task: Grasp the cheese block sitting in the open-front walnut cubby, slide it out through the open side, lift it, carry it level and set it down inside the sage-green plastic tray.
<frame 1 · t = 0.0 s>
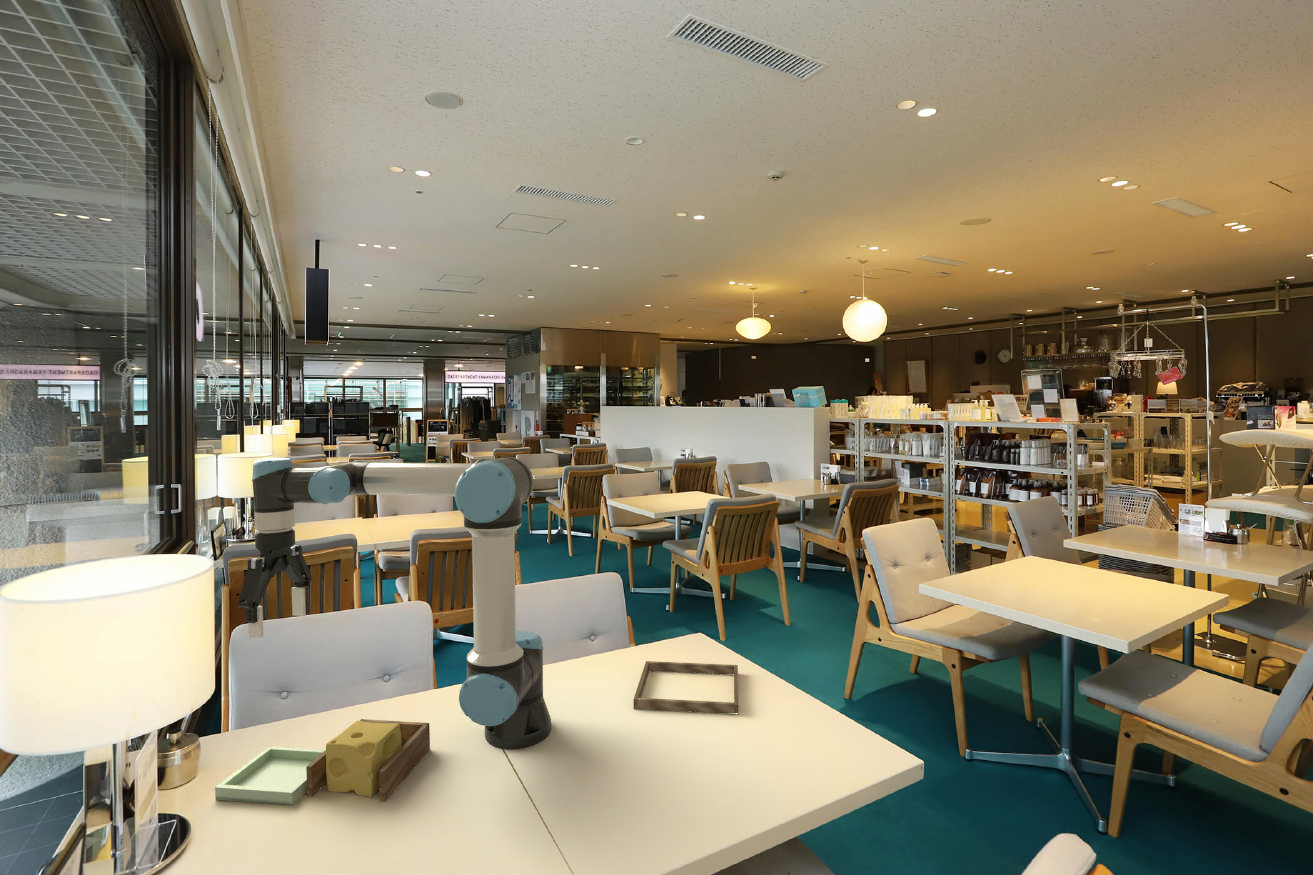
hand: (278, 625, 143), 28 cm above the table, fingers open, 13 cm apart
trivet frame: (688, 690, 174), on the table
cubby: (372, 771, 136), on the table
tray: (280, 779, 133), on the table
cheese: (364, 780, 133), on the table
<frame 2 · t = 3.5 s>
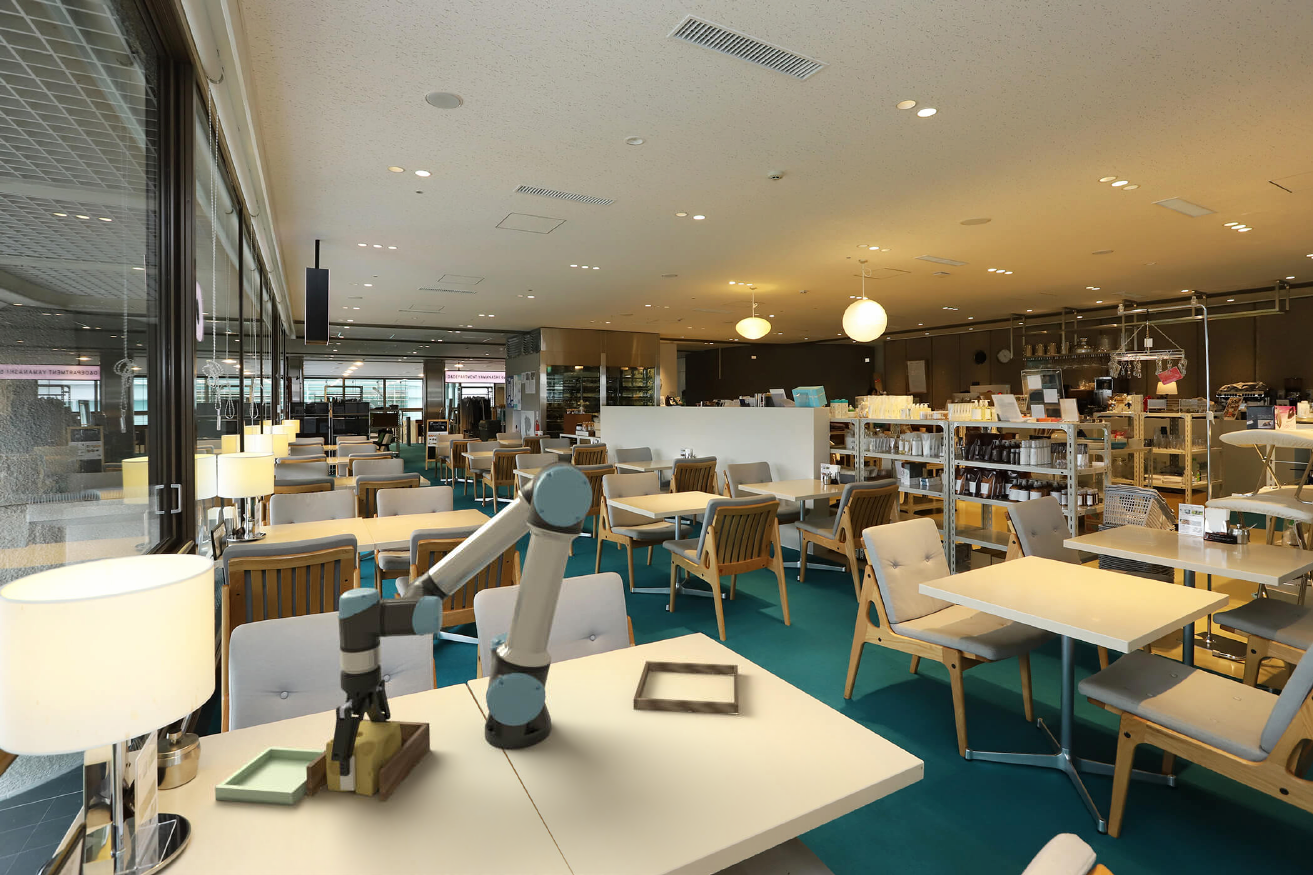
hand: (363, 772, 133), 1 cm above the table, fingers closed on cheese, 10 cm apart
cheese: (364, 780, 134), on the table, touching gripper
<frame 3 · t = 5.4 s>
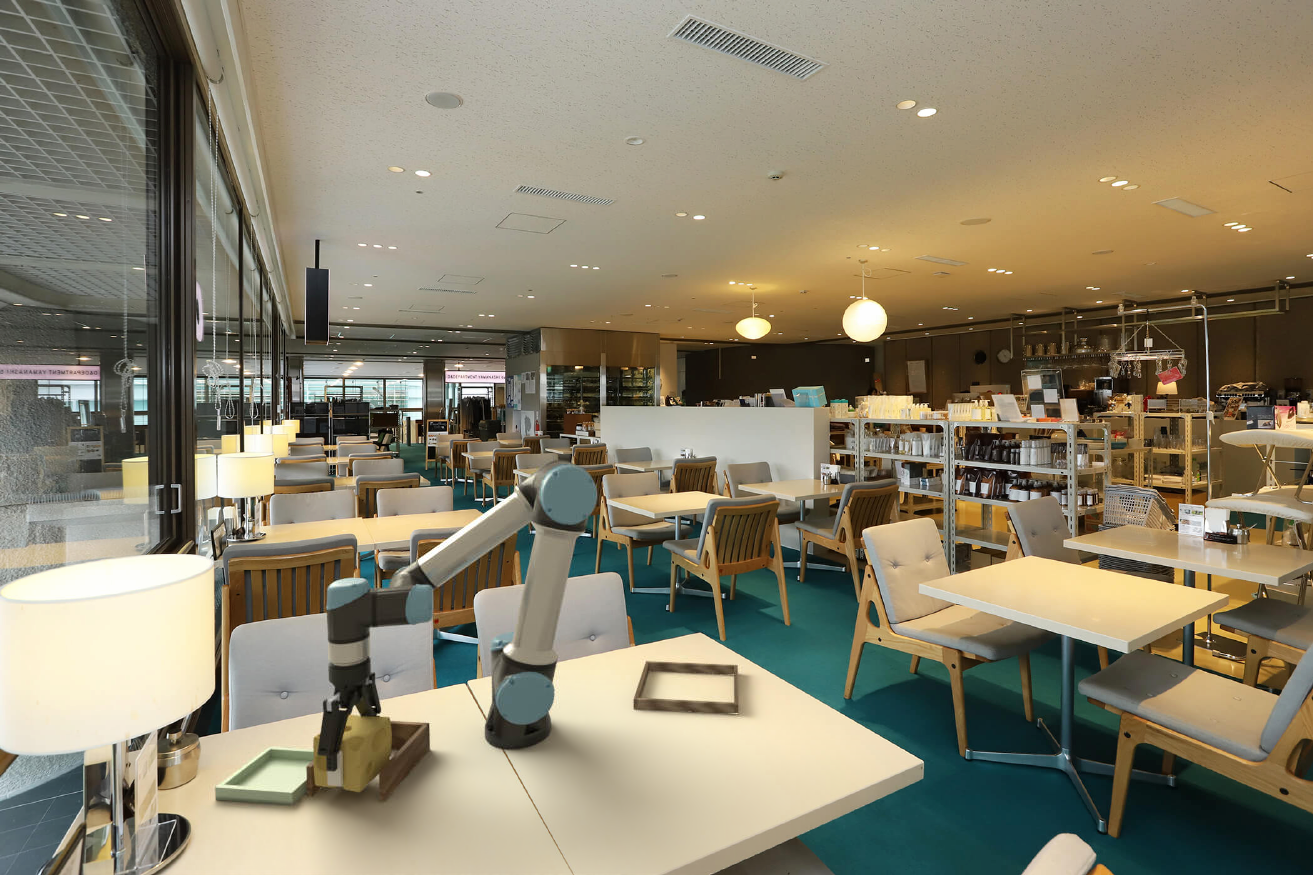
hand: (352, 768, 129), 4 cm above the table, fingers closed on cheese, 10 cm apart
cheese: (353, 775, 130), point 3 cm above the table, touching gripper
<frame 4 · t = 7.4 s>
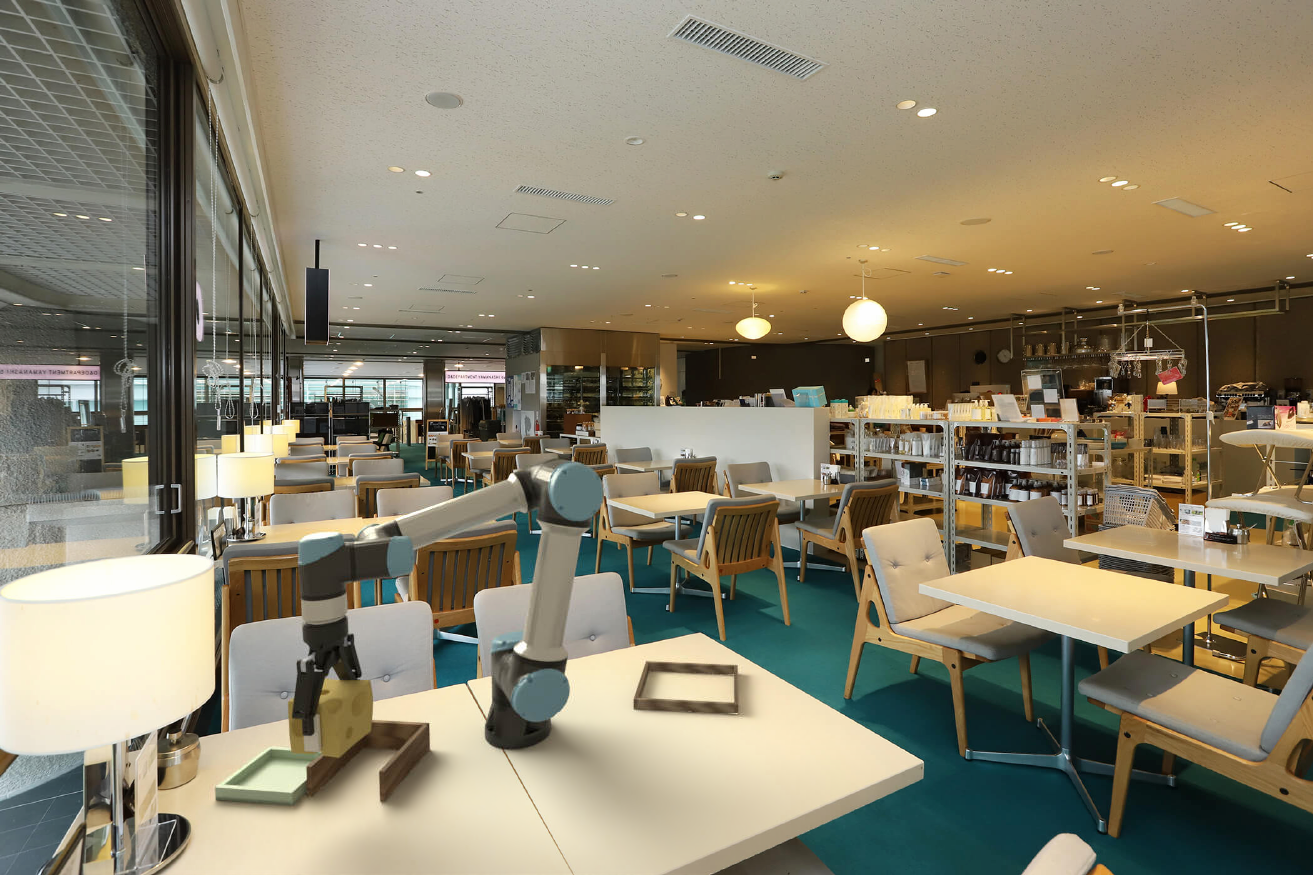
hand: (331, 734, 122), 15 cm above the table, fingers closed on cheese, 10 cm apart
cheese: (332, 742, 122), point 14 cm above the table, touching gripper
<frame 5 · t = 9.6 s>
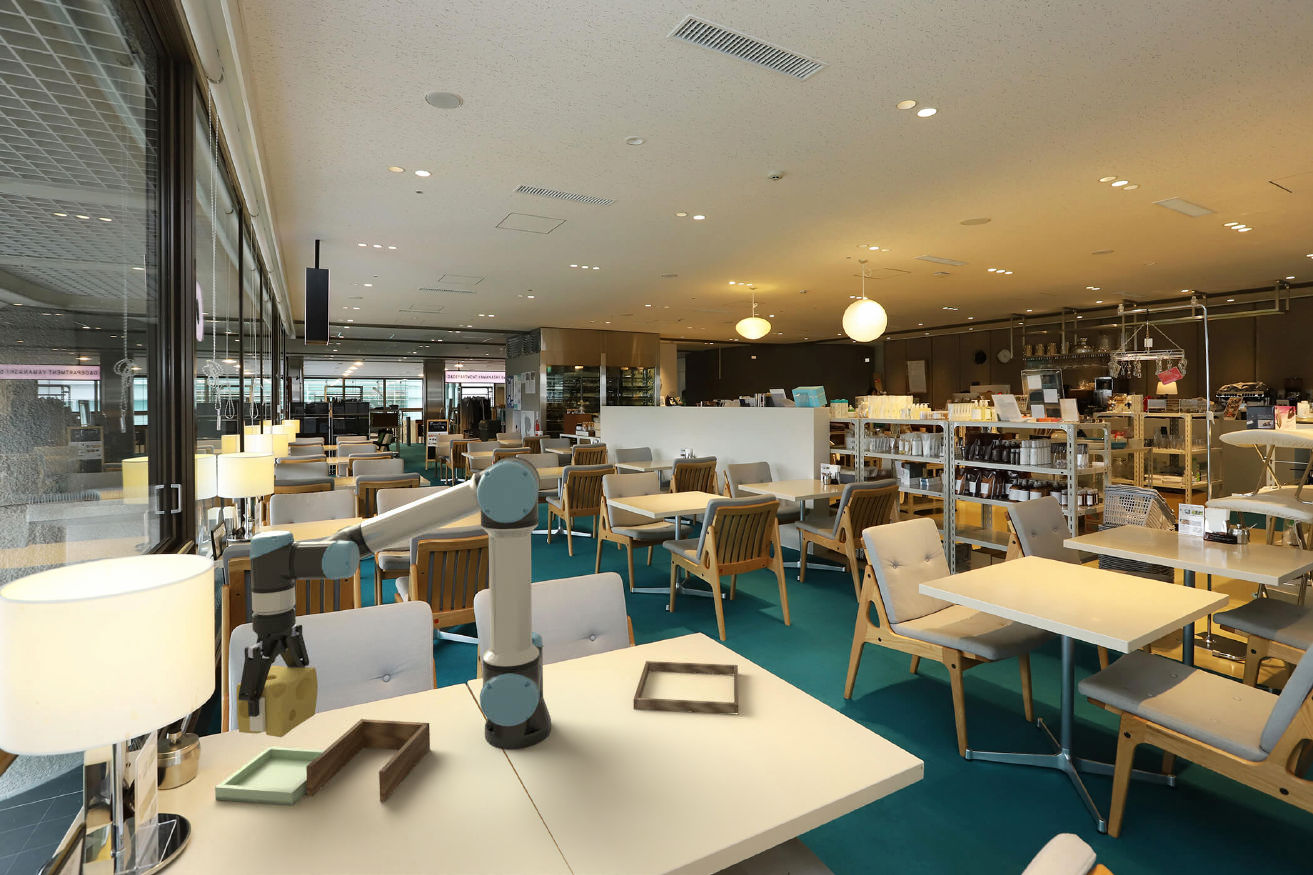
hand: (277, 716, 133), 13 cm above the table, fingers closed on cheese, 10 cm apart
cheese: (278, 724, 133), point 12 cm above the table, touching gripper
when the fingers open (3 cm above the table, at t = 11.5 s): cheese drops 1 cm, resting on tray.
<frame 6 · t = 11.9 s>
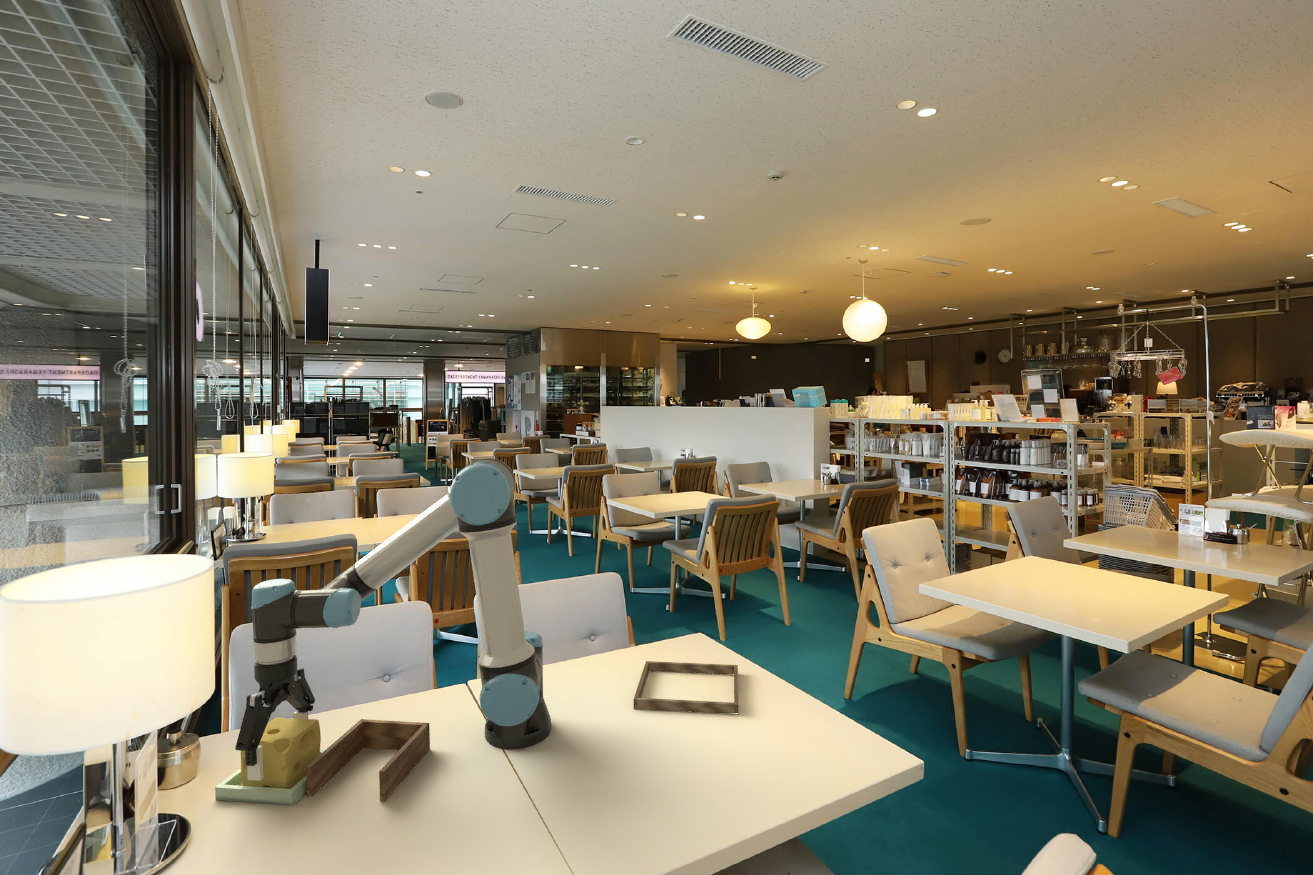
hand: (279, 759, 133), 4 cm above the table, fingers open, 13 cm apart
cheese: (281, 777, 134), resting on tray
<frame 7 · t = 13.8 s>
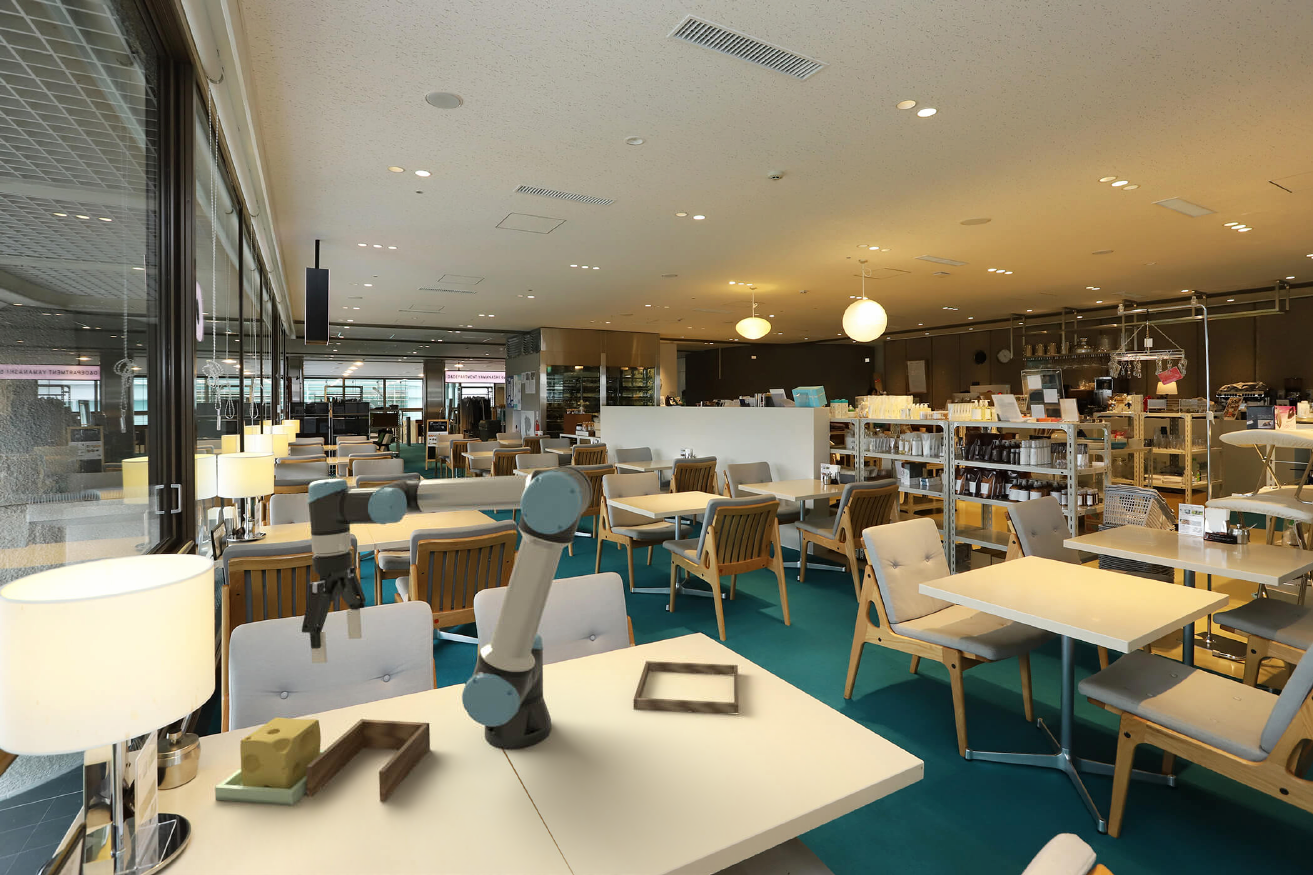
hand: (338, 649, 141), 24 cm above the table, fingers open, 13 cm apart
nothing on the table moved.
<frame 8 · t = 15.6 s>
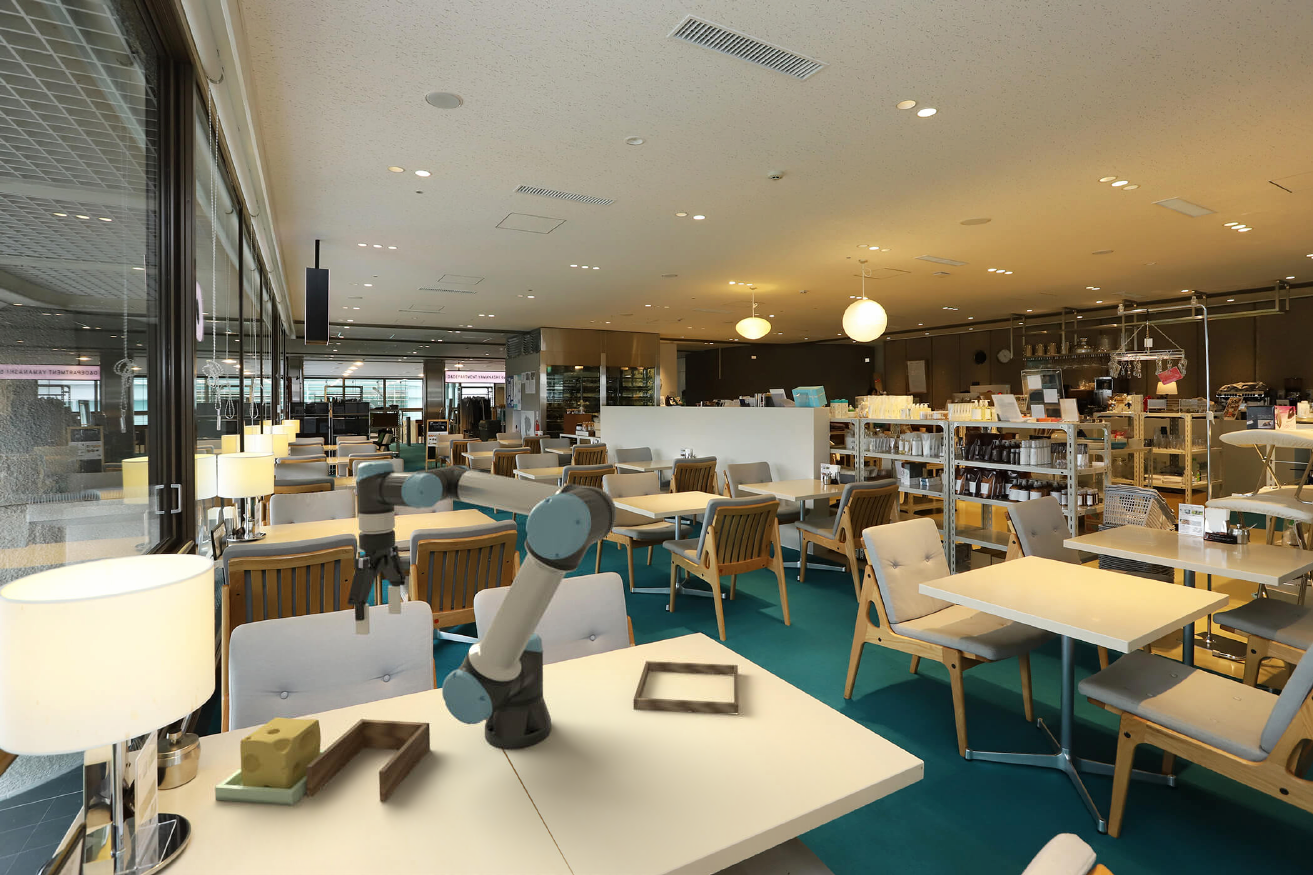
hand: (379, 623, 148), 27 cm above the table, fingers open, 13 cm apart
nothing on the table moved.
at the end: cheese inside the target area on the tray (0.3 cm from its centre), point 0.4 cm above the tray's base; cheese tilted 0°; the gripper is holding nothing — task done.
